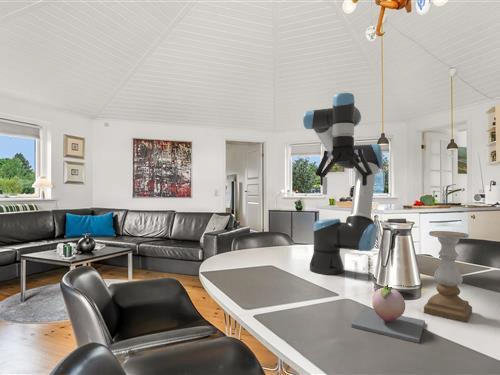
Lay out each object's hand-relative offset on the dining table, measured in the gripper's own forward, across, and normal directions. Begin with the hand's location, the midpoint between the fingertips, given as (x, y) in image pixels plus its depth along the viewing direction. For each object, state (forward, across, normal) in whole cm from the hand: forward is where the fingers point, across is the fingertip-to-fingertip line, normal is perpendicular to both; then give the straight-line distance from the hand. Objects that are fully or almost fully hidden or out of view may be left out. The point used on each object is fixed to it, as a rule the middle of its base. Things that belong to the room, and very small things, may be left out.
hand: (342, 194), depth 118 cm
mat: (+35, -20, +23) cm, 46 cm away
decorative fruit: (+34, -20, +23) cm, 46 cm away
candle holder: (+35, -33, +3) cm, 48 cm away
